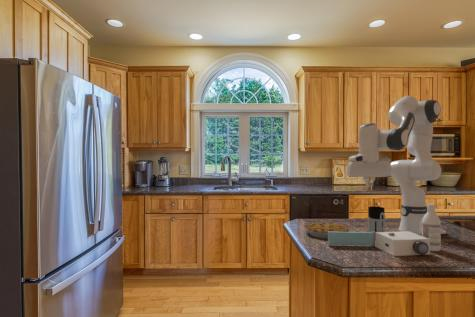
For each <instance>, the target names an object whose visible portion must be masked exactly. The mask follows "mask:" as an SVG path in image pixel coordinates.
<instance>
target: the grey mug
mask: <svg viewBox="0 0 475 317" xmlns="http://www.w3.org/2000/svg"><path fill="white" fill-rule="evenodd" d="M367 208H368V210H367V212H368V213H367V232H372V231H374V232H375V240H376V232H386V215H385V214H386V213H385V207H383V206H376V205H375V206H368V207H367Z"/></svg>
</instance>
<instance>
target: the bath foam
mask: <svg viewBox="0 0 475 317" xmlns="http://www.w3.org/2000/svg"><path fill="white" fill-rule="evenodd" d="M426 205H427V206H426V207H427V213H426V214H425V215H424V217H423V219H422V235H421V236H423V237H426V238H428V239H430V252H440V251H441V248H442V244H441V243H442V241H441V240H442V239H441V238H442V234H441V229H442V225H441V219H440V217H439V215H437V212H436V204H435V203H427V204H426Z"/></svg>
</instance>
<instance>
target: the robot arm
mask: <svg viewBox="0 0 475 317" xmlns="http://www.w3.org/2000/svg"><path fill="white" fill-rule="evenodd" d="M441 110H442V109H441V105H440V103H439V102H438V101H437V100H435V99H428V100H421V101H418V99H417V98H416V97H415V96H412V95H405V96H403V97H401V98H400V99H398V100H397V101H396V102H395V103H394V104H393V105H392V106H391V107H390V109H389V111H388V113H387V116H388V120H389V122H390V123H391V124H392V125H394V126H396V127H398V128H394V129H380V128H378V125H377V123H375V122H369V123H363V124H361V125H359V128H358V138H357V139H358V145H359V147H358V153H357V154H355V155H351V156H349V157H348V161H349V162H348V163H347V167H346V176H348V177H349V178H362V180H363V181H364V183H365V186H366V187H373V186H374V182H375V180H376V177H391V178H393V179H394V180H395V181H396V182H397V184H398V185H399V188H400V191H401V204H400V214H401V217H400V223H399V227H398V231H399V232H401V231H409V232H412V233H415V234H417V235H420V236H422V219H423V217H424V215H425V214H426V213H427V206H426V192H425V191H424V189H423V188H422V187H419V186H418V185H417V184H416V182H415V181H424V182H427V181H437V179H439V177H440V176H441V174H442V168H441V167H442V166H441V165H440V164H439V163H438V161H436V160H435V159H434V158H433V156H432V154H431V149H432V148H431V147H432V142H433V137H434V136H433V135H434V125H433V124H434V122H436V120H437V119H438V118H439V116H440V115H441ZM405 147H406V150H407V152H408V153H409V154H410V155H412V156H414V159H400V160H399V159H398V160H393V161H392V162H391V159H390V157H388V156H380V155H379V154H380V153H379V152H380V151H390V150H392V151H401V150H403V149H404V148H405ZM369 178H370V181H368V179H369ZM446 234H447V231H446V230H444V229H442V228H441V235H446Z"/></svg>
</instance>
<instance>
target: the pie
mask: <svg viewBox="0 0 475 317" xmlns="http://www.w3.org/2000/svg"><path fill="white" fill-rule="evenodd" d="M305 229H306V230H307V232H308V234H309V236H311V237H314V238H318V239H327V240H328V231H330V232H350V229H349V227H348V226H346V225H343V224H340V223H332V222H329V223H328V222H315V223H313V222H311V223H309V224H307V225H306V227H305Z"/></svg>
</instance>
